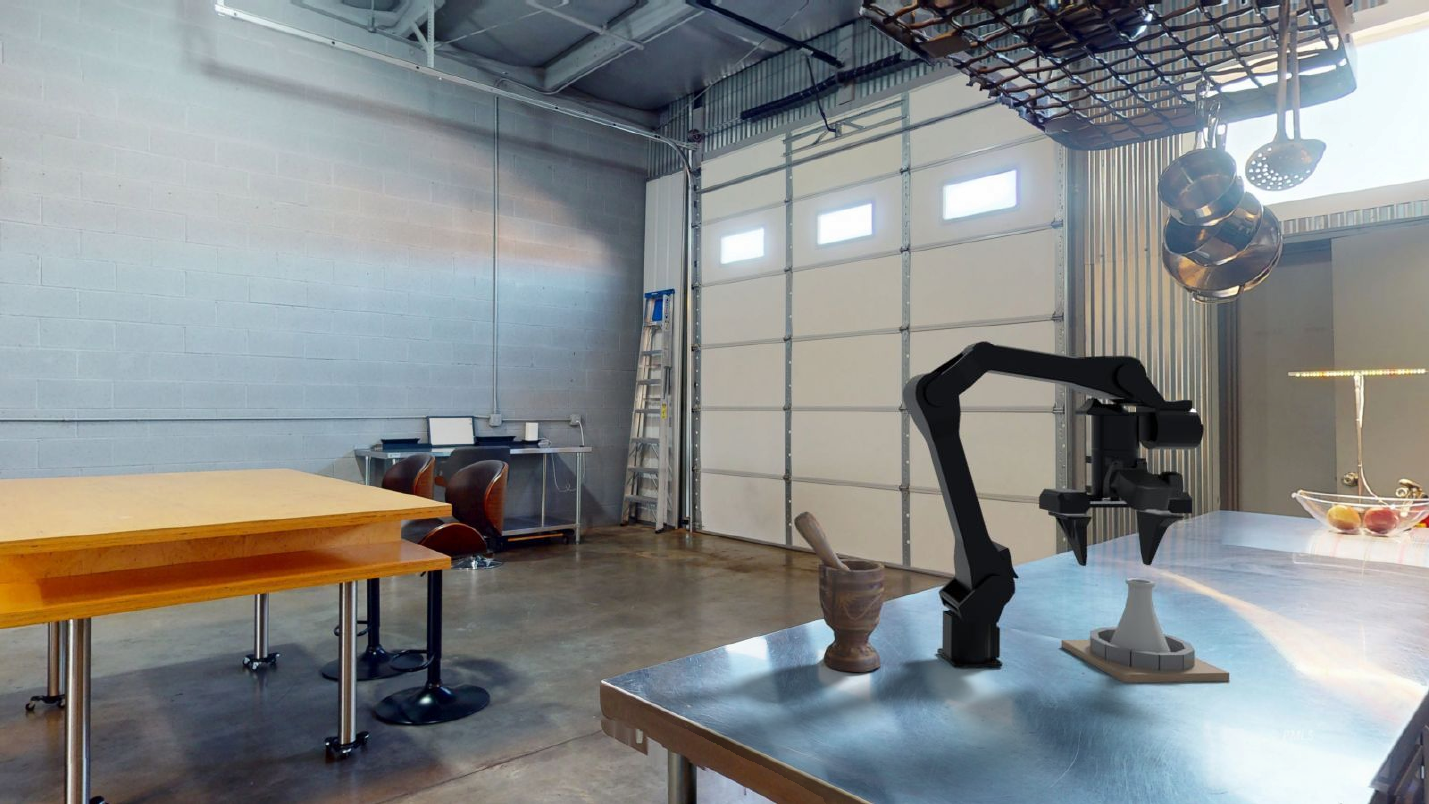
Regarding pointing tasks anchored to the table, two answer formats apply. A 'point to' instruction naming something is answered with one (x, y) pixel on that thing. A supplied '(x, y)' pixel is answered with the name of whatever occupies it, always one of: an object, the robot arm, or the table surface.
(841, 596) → the mortar and pestle
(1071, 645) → the duct collar
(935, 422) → the robot arm
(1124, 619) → the flask
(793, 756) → the table surface
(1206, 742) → the table surface
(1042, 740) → the table surface
